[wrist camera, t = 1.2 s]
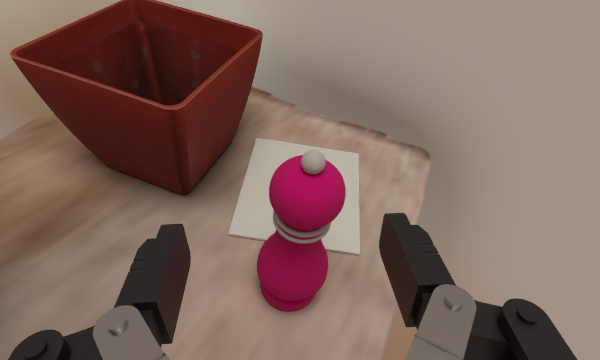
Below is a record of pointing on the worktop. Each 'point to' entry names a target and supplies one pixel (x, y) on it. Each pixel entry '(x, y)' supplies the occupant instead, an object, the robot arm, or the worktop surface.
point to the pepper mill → (299, 229)
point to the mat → (257, 208)
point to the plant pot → (147, 86)
